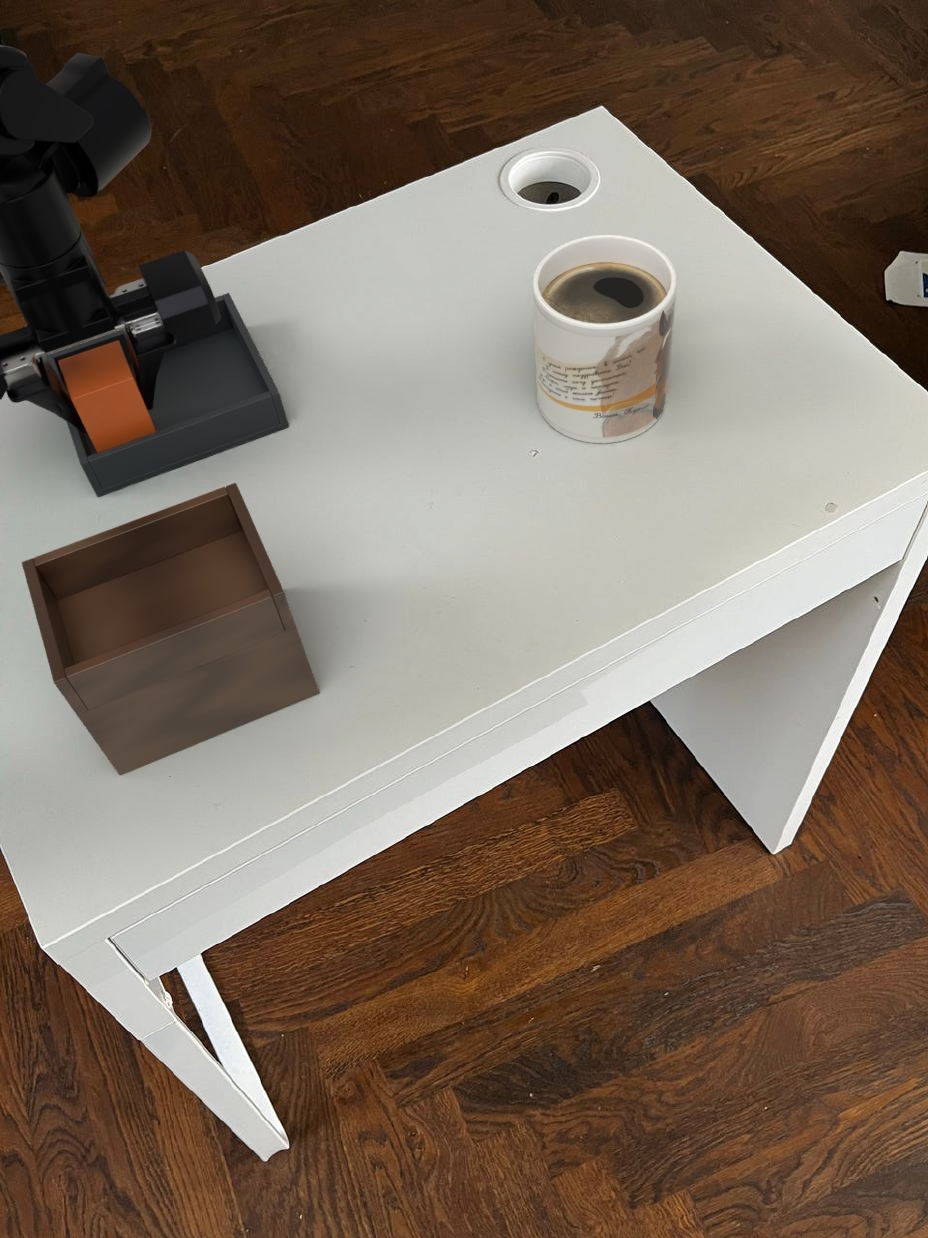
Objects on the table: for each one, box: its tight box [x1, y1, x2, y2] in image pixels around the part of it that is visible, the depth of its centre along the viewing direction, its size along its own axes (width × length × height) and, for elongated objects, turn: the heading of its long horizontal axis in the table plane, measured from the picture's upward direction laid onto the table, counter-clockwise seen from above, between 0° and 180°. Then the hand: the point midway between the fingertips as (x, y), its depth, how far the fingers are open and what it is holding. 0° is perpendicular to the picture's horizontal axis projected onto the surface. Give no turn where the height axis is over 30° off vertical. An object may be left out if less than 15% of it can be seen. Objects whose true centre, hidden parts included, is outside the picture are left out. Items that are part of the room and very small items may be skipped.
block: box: [58, 341, 156, 453], centre depth 84 cm, size 4×4×6 cm
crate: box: [21, 482, 320, 776], centre depth 71 cm, size 13×9×11 cm
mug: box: [531, 234, 678, 444], centre depth 83 cm, size 10×12×11 cm
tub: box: [46, 292, 290, 498], centre depth 89 cm, size 15×13×4 cm
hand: (117, 417), depth 85 cm, fingers closed on block, 4 cm apart
